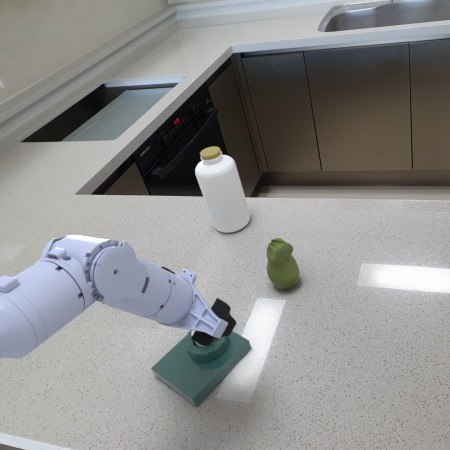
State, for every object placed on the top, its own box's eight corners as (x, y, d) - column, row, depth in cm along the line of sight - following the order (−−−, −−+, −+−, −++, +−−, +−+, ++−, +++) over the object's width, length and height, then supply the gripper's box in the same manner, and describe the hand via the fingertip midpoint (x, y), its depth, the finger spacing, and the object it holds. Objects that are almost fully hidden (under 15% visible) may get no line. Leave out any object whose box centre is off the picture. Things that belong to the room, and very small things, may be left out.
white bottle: (208, 233, 100) (181, 161, 89) (224, 211, 106) (201, 141, 95) (242, 236, 97) (219, 162, 86) (257, 212, 103) (237, 141, 92)
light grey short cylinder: (205, 351, 70) (201, 343, 68) (190, 342, 72) (186, 333, 70) (222, 335, 72) (218, 326, 70) (207, 326, 74) (203, 317, 72)
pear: (288, 269, 86) (277, 227, 80) (308, 281, 83) (298, 238, 77) (266, 286, 84) (253, 245, 78) (286, 299, 80) (274, 257, 74)
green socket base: (196, 407, 66) (188, 391, 64) (155, 375, 72) (145, 360, 70) (251, 348, 73) (245, 331, 71) (209, 323, 79) (203, 308, 76)
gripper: (215, 286, 48) (266, 312, 60) (127, 235, 55) (188, 268, 67) (180, 347, 47) (238, 361, 59) (94, 288, 54) (162, 311, 66)
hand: (210, 315), depth 63 cm, fingers open, 7 cm apart
